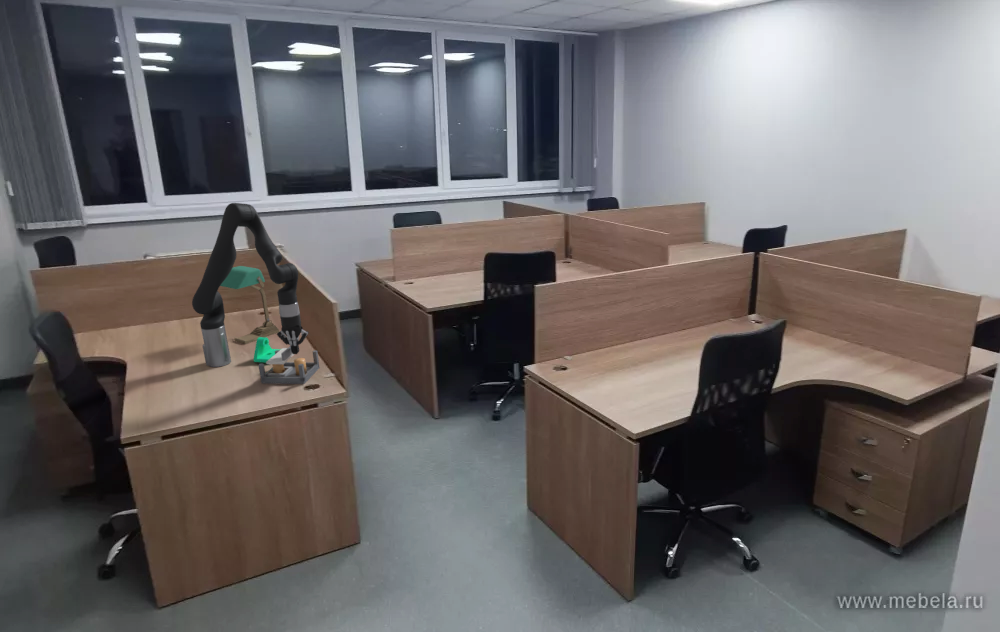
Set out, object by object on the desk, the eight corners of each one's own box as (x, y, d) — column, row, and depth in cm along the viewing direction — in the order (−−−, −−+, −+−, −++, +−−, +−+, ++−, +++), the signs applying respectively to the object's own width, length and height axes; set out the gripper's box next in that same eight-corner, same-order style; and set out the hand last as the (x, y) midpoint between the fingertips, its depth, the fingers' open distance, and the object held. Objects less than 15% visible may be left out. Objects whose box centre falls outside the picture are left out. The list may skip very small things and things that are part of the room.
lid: (266, 364, 233) (265, 354, 231) (283, 350, 247) (281, 341, 246) (283, 364, 232) (282, 355, 231) (299, 350, 246) (297, 341, 245)
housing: (261, 383, 235) (258, 365, 233) (279, 367, 250) (276, 350, 248) (304, 383, 233) (301, 365, 231) (319, 367, 249) (317, 350, 246)
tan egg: (271, 375, 240) (269, 361, 238) (276, 370, 244) (274, 357, 242) (282, 375, 240) (280, 361, 238) (286, 370, 244) (284, 357, 242)
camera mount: (270, 365, 254) (266, 343, 250) (254, 364, 255) (250, 342, 252) (284, 354, 265) (281, 333, 261) (269, 353, 266) (266, 332, 263)
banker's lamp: (284, 333, 292) (273, 265, 281) (247, 346, 275) (235, 274, 264) (264, 328, 300) (253, 261, 289) (227, 340, 284) (214, 271, 273)
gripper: (309, 310, 236) (314, 350, 241) (278, 310, 237) (284, 350, 243) (301, 316, 229) (307, 357, 234) (269, 316, 230) (276, 356, 235)
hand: (295, 353), depth 238 cm, fingers closed
